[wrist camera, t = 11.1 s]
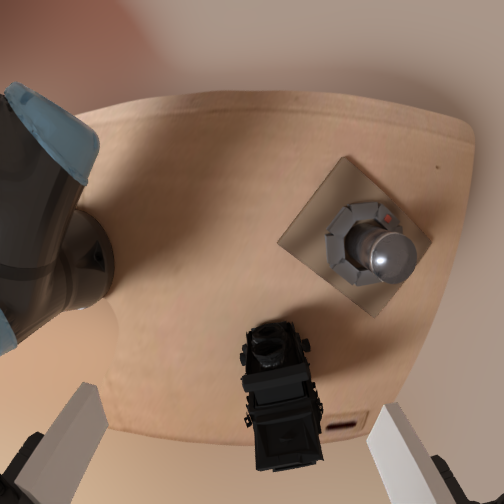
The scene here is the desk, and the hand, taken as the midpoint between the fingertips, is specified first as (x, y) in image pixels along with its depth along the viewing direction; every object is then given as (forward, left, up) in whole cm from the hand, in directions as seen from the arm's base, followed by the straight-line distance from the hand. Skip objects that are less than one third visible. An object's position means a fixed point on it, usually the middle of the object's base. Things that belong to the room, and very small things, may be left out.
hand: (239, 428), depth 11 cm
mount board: (+10, +12, -28) cm, 31 cm away
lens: (+10, +12, -26) cm, 30 cm away
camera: (+11, -8, -28) cm, 31 cm away
